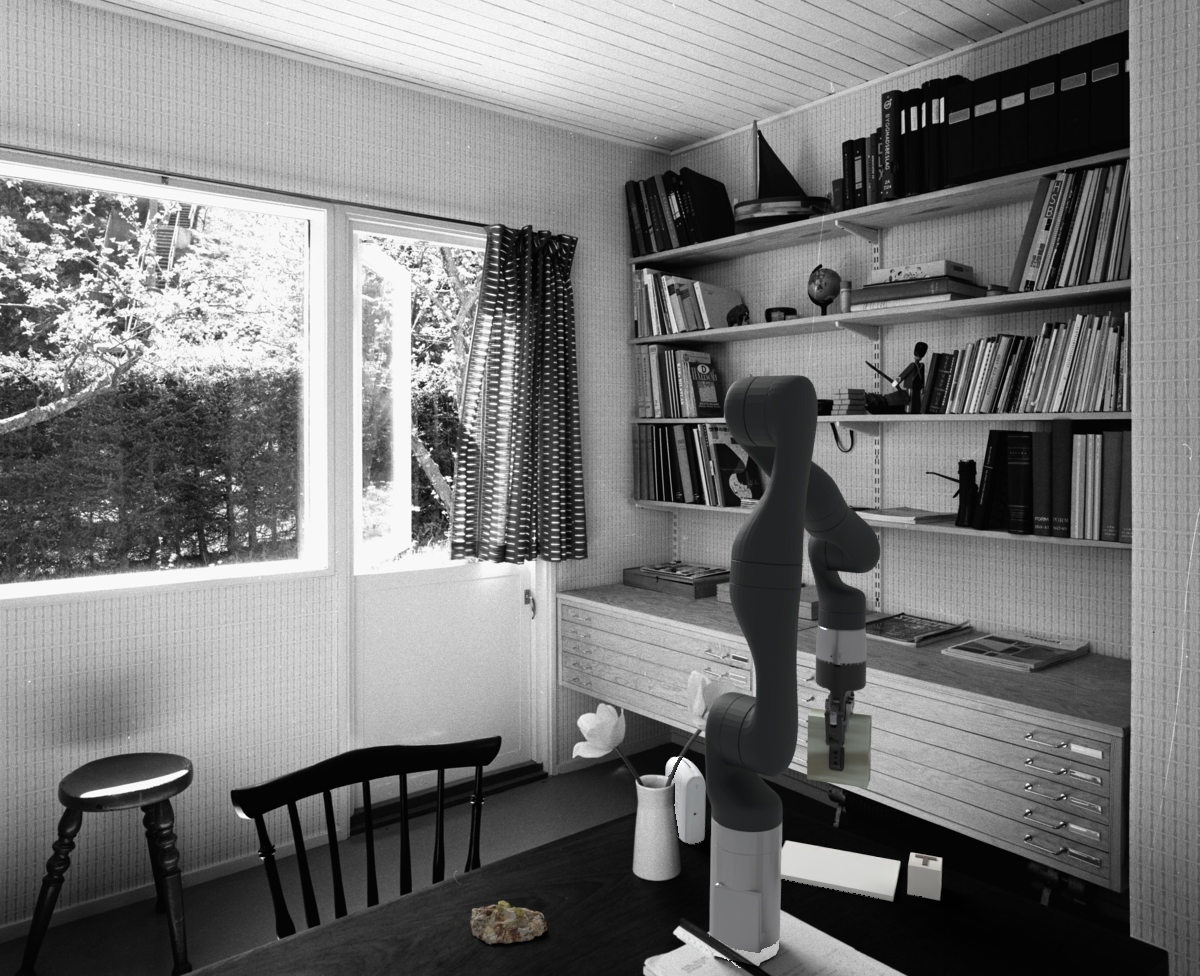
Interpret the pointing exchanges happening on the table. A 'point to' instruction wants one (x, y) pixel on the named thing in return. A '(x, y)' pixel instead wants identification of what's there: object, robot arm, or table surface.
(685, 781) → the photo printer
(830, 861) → the mat
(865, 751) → the pale green rectangular block
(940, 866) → the letter cube
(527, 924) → the mineral rock
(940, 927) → the table surface
